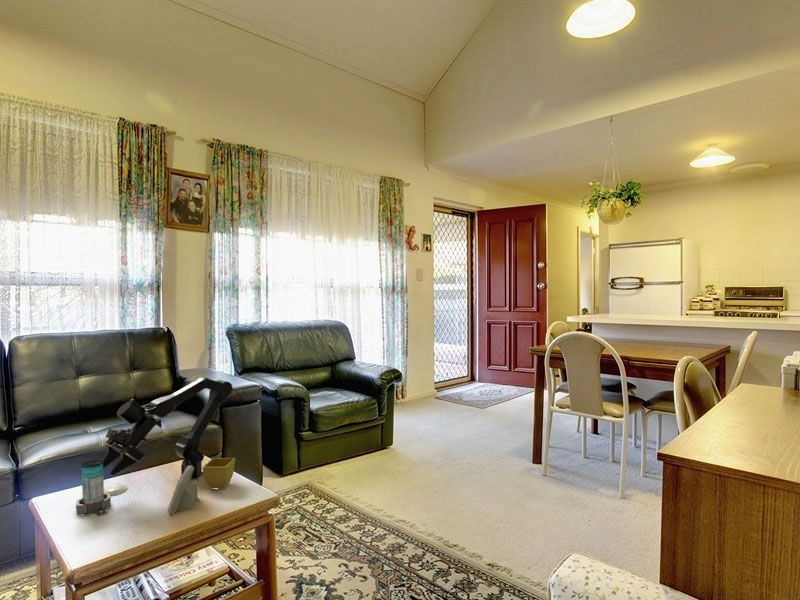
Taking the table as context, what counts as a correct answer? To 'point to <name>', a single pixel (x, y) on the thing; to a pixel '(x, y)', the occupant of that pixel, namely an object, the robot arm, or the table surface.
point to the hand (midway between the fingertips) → (106, 471)
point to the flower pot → (218, 472)
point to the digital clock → (184, 492)
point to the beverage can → (92, 482)
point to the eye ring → (94, 506)
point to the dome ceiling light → (115, 489)
